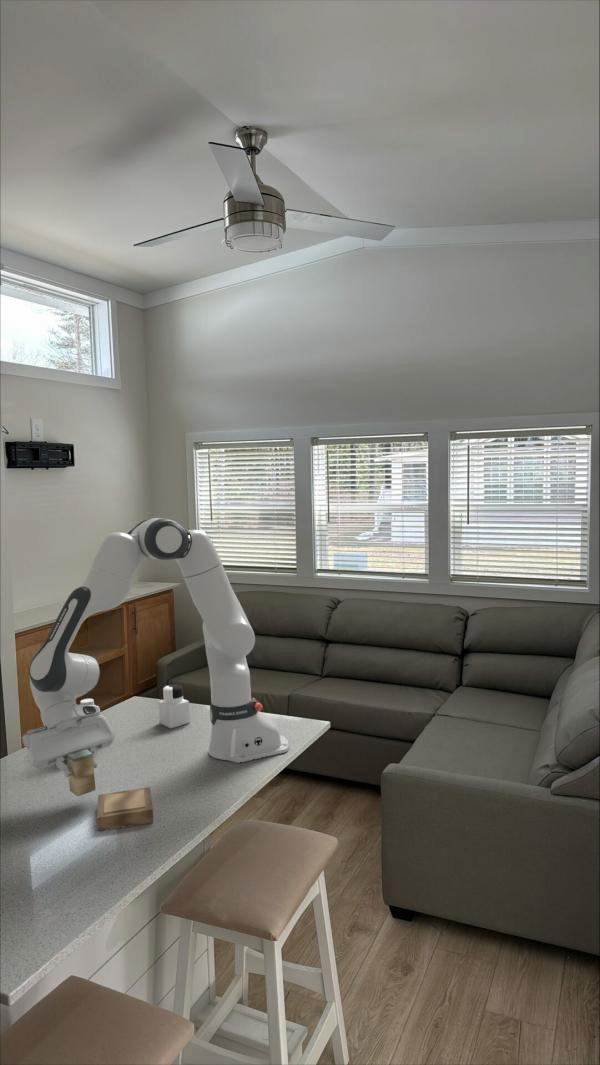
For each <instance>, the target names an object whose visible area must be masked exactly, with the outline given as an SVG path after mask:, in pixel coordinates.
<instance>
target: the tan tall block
mask: <svg viewBox="0 0 600 1065" xmlns="http://www.w3.org/2000/svg"><path fill="white" fill-rule="evenodd" d="M66 762H67V766H68V767H69V766H71V767H72V770H73V775H72V776H69V777H68V782H69V784H68V786H69V791H70V793H72V794H73V795H75V796H76V797H80V796H81V797H82V796H83V795H86V794H88V793H89V794H90V793H92V792H95V791H96V790H97V789H96V781H95V780H96V779H95V778H96V777H95V768H94V765H93V753H92V752H90V751H89V750H87V749H83V750H80V751H77V752H74V753H70V754H67V759H66Z"/></svg>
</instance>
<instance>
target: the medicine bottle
mask: <svg viewBox="0 0 600 1065" xmlns="http://www.w3.org/2000/svg"><path fill="white" fill-rule="evenodd" d="M162 690H163V691H162V692H163V700H159V701H158V716H159V719H158V720H159V724H161V725H163V726H165V727H166V728H169V729H174V728H177V727H180V726H184V725H188V724H190V723H191V716H190V715H191V714H190V701H189V700H187V699H184V688H183V685H181V684H178V683H177V684H176V683H175V684H168V685H165V686H164V687H163V688H162Z"/></svg>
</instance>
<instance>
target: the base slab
mask: <svg viewBox="0 0 600 1065" xmlns="http://www.w3.org/2000/svg"><path fill="white" fill-rule="evenodd" d="M151 793H152V792H151V786H149V787H142V788H135V789H130V790H129V789H128V790H123V791H122V790H121V791H115V792H107V793H102V794H97V807H96V808H97V810H96V811H97V814H96V822H97V832H101V830H102V831H107V830H106V829H108V830H112V829H111V828H115V829H118V828H117V827H121V828H123V827H122V826H127V827H130V826H129V825H133V826H138V825H144V824H145V823H146V824H149V823H154V811H153V810H154V809H153V803H152V802H153V801H152V800H153V799H152V794H151Z"/></svg>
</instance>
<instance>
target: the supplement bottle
mask: <svg viewBox="0 0 600 1065" xmlns="http://www.w3.org/2000/svg"><path fill="white" fill-rule="evenodd" d="M79 702H80V704H79V705H88V706H97V705H96V704H95V701H94V699H93V698H84V699H81V700H80V701H79Z"/></svg>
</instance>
